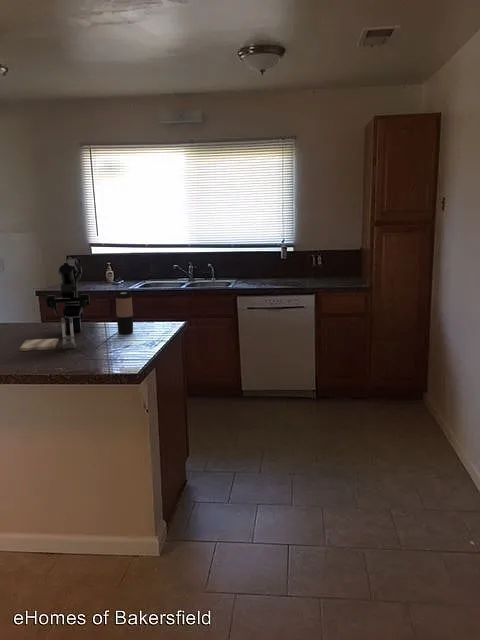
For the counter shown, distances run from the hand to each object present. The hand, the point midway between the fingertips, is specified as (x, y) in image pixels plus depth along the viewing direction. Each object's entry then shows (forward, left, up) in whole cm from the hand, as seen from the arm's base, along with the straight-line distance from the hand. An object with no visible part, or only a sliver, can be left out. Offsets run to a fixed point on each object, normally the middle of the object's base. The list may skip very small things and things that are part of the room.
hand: (68, 315), depth 235 cm
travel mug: (-24, -14, -13) cm, 31 cm away
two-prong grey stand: (0, +7, -13) cm, 14 cm away
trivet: (+13, +2, -13) cm, 18 cm away
